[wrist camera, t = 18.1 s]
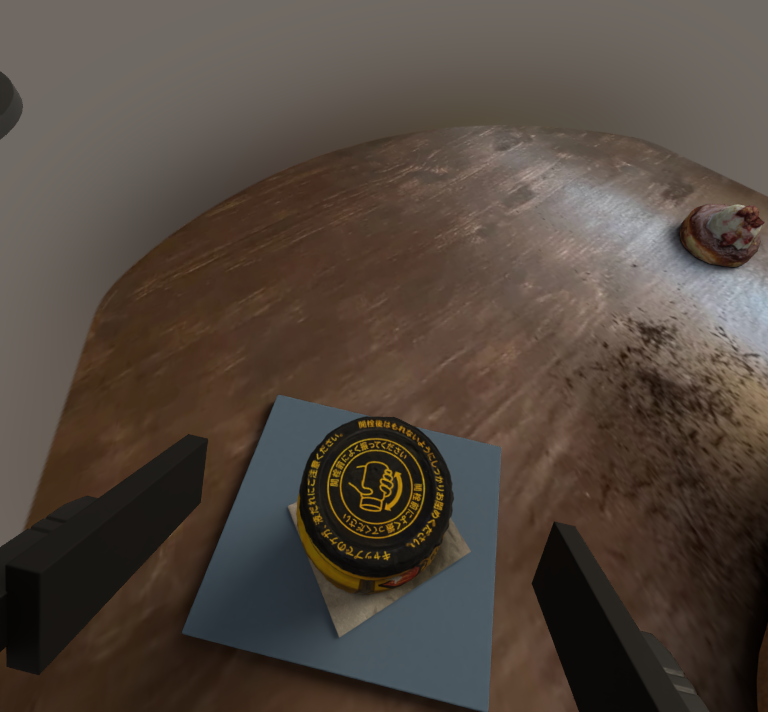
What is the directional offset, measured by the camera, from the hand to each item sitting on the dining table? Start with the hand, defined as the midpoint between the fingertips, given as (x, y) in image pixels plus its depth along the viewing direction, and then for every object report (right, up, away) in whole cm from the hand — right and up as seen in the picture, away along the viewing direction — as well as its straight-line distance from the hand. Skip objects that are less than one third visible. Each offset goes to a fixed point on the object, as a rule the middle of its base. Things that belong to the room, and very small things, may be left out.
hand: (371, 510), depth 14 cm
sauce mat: (-1, -5, +9) cm, 11 cm away
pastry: (+36, +18, +28) cm, 49 cm away
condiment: (0, -5, +9) cm, 10 cm away
